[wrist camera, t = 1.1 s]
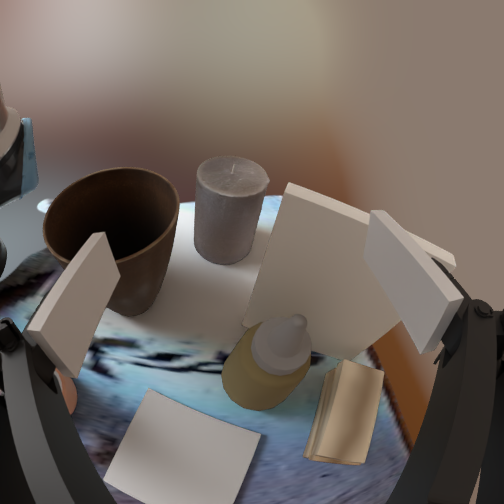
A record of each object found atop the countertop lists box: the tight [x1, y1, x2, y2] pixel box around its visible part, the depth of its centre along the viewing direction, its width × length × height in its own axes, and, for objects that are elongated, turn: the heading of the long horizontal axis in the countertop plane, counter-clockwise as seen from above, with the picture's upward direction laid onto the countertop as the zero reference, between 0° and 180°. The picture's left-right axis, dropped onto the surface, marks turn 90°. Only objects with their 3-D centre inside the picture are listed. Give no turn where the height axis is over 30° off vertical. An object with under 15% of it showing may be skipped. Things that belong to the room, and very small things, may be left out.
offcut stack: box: [303, 359, 384, 465], centre depth 26 cm, size 7×13×5 cm, turn 161°
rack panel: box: [242, 182, 456, 361], centre depth 27 cm, size 16×2×22 cm, turn 71°
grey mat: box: [103, 388, 261, 504], centre depth 22 cm, size 14×14×1 cm
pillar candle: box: [194, 156, 269, 265], centre depth 39 cm, size 10×10×15 cm
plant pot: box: [43, 167, 180, 316], centre depth 30 cm, size 15×15×16 cm
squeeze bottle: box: [221, 314, 312, 411], centre depth 24 cm, size 8×8×18 cm
